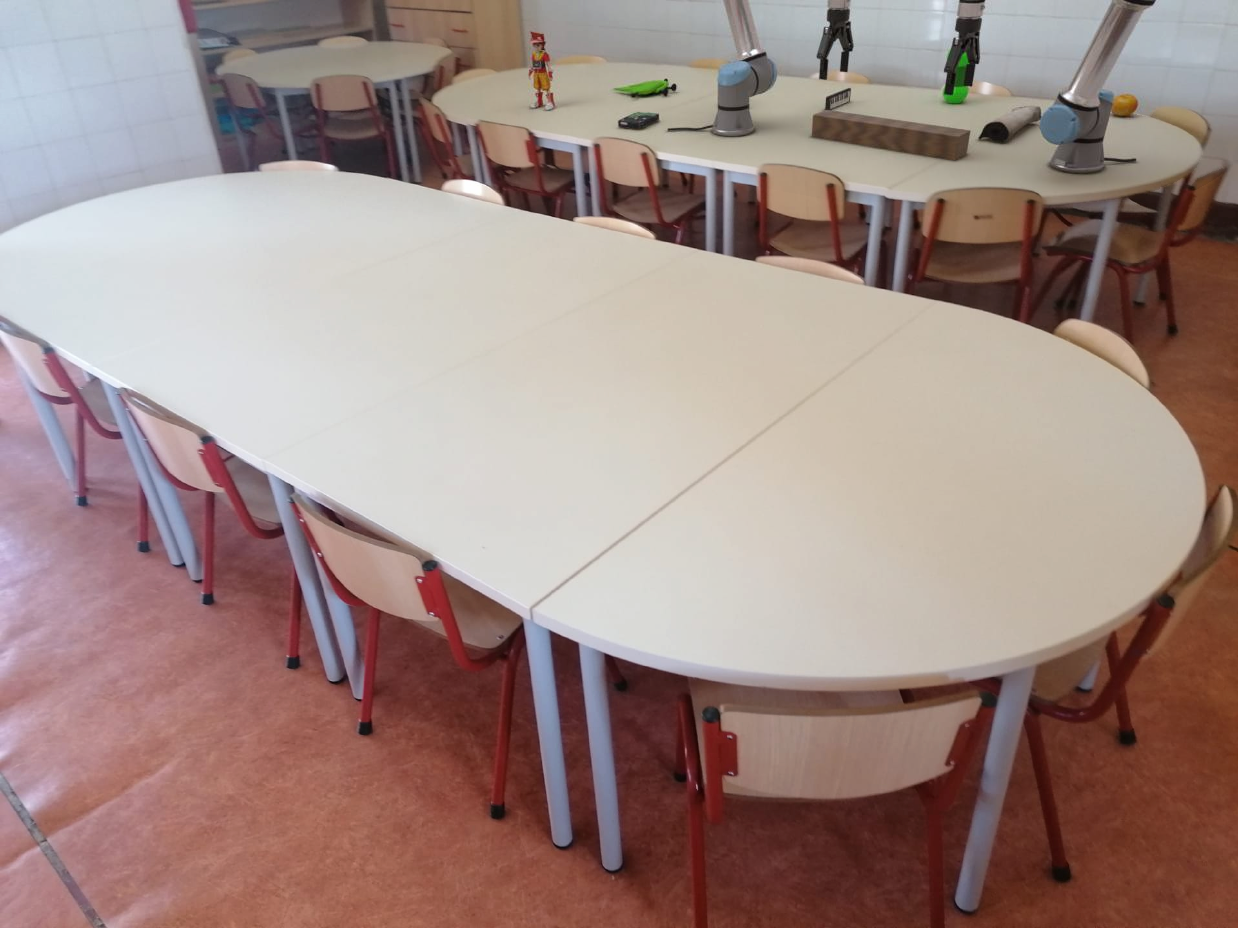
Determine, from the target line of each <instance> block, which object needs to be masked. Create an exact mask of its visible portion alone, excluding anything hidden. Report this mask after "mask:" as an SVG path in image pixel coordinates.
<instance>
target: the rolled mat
mask: <svg viewBox="0 0 1238 928" xmlns="http://www.w3.org/2000/svg"><path fill="white" fill-rule="evenodd" d="M1041 117H1042V108H1041V106H1037V105H1036V106H1035V105H1025V106H1019V107H1018V106H1017V107H1015V108H1012V110H1011V112H1008V113H1006V114H1003V115H1002V116H1000V117H998V118H995V119H994V120H992V121H989V122H987V123H986V124H985V125H984V127H983V128H982V130H981V133H980V134H979V136H978V137H977V138H978V141H981V140H982V139H989V140H991V141H992V142H996V143H1002V144H1004V143H1005V142H1007V141H1008V140H1009V139H1010V138H1012V137H1013V135H1014V134H1015V133H1016V132H1018V131H1019V130H1021V128H1023V127H1024V126H1026V125H1027V124H1031V123H1037V122H1040V119H1041Z"/></svg>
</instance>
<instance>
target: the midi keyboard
mask: <svg viewBox="0 0 1238 928" xmlns="http://www.w3.org/2000/svg"><path fill="white" fill-rule="evenodd" d="M851 95H852V88H851V87H847V88H845V89H842V90H839V91H837V92H834V93H833V94H832V93H831V94H830V95H827V96H825V105H824V106H825V107H824V110H831V109H832V110H833V109H835V108H837V107H839V106H841V105H844V104H846V103H848V102H851Z"/></svg>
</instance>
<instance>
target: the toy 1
mask: <svg viewBox="0 0 1238 928" xmlns="http://www.w3.org/2000/svg"><path fill="white" fill-rule="evenodd" d="M529 33H530V35H531V36H528V37H527V38H528V39H529V40H528V41H527V43H529V44H530V43H531V44H532V48H533V50H534V51H533V52H532V55H531V58H530V59H531V63H530V66H528V74H527V75H528V76H527V77H528V79H529V80H531V75H532V74H533V84H532V85H533V86H532V87H533V88H534V89H535V90H536V92H534V95H535V97H536V100H535V101H533V102H531V105H530V108H531V109H535V108H538V107H542V106H544V101H543V100H544V99H543V95H544V92H546V94H545V97H546V99H547V103H546V104H545V106H544V110H546V111H549V110H553V109H554V107H555V106H556V105H555V99H554V92H551V91H550V90H551V86H552V84H551V82H552V81H553V80H554V77H553V73H554V71H555V70H554V69H552V68H551V63H550V61H551V59H550V58H551V57H550V54H549V53H548V52H547V50H546V48H545V46H546V44H547V41H545V35H544V33H543V32H542V33H539V32H535V31H529Z"/></svg>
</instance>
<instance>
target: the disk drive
mask: <svg viewBox="0 0 1238 928" xmlns="http://www.w3.org/2000/svg"><path fill="white" fill-rule="evenodd" d="M658 121H660V113H654V112H642V111H637V112H633V113H631V114H629V115H627V116H624V117H623V118H620V119H618V120H617V126H618V128H619V127H620V128H624V129H632V130H643V129H644V128H646V127H648V126H650V125H652V124H654V123H656V122H658Z"/></svg>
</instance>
